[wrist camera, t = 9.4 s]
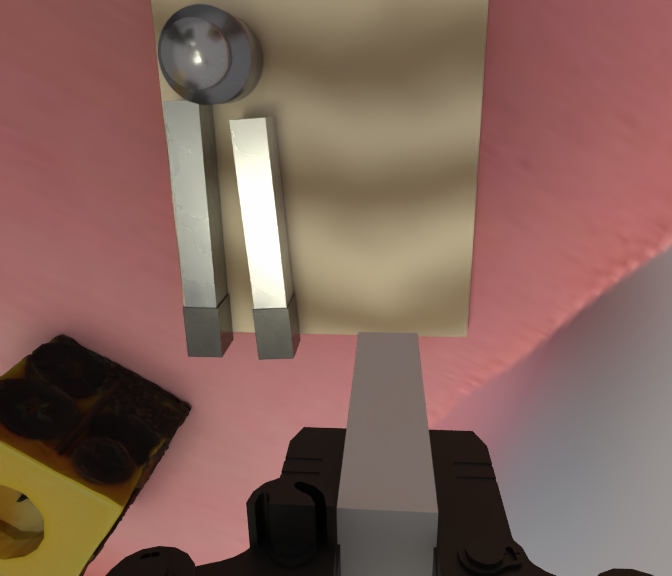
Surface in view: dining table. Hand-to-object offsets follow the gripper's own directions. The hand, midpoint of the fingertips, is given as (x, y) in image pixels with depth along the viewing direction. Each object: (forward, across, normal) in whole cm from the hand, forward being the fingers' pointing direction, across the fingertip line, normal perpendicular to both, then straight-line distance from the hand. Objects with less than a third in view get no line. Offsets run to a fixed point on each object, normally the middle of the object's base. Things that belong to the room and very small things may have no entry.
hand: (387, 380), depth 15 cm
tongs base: (+18, -9, +2) cm, 20 cm away
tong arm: (+18, -8, +2) cm, 19 cm away
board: (+19, -4, +3) cm, 20 cm away
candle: (+20, -20, -14) cm, 31 cm away
